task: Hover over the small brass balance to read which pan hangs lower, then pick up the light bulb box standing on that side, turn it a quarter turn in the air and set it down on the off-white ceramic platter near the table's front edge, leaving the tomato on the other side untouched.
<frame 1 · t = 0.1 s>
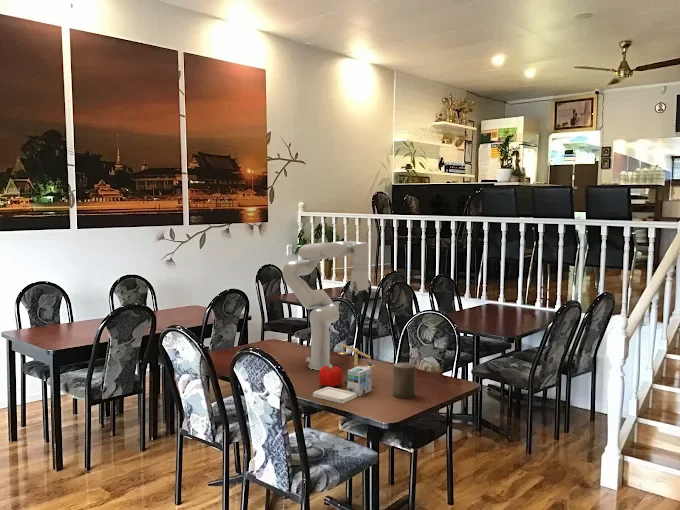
hand: (359, 302, 291), 37 cm above the table, tool pointing down, fingers open, 9 cm apart
tomato: (330, 386, 276), on the table
pillar candle: (403, 395, 264), on the table
balance: (355, 383, 281), on the table
platter: (334, 396, 260), on the table
light bulb box: (359, 392, 267), on the table
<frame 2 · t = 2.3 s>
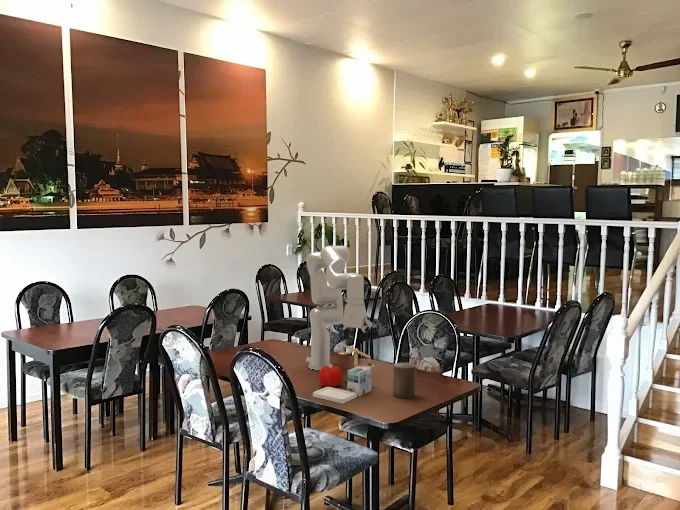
hand: (355, 340, 266), 24 cm above the table, tool pointing down, fingers open, 9 cm apart
nothing on the table moved.
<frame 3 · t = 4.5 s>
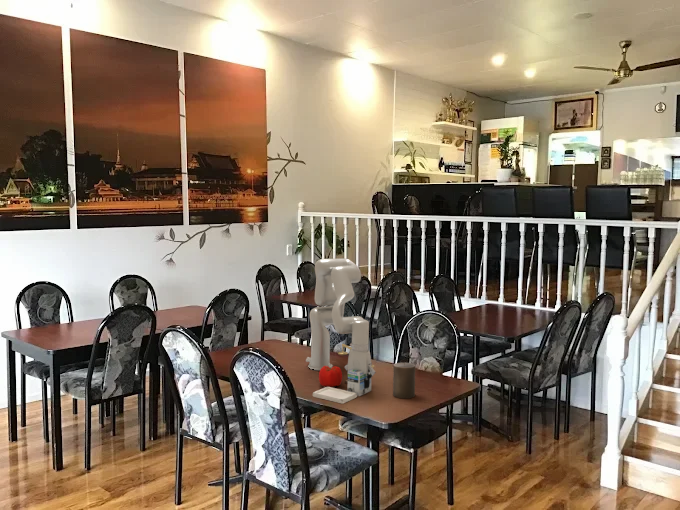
hand: (359, 386, 267), 3 cm above the table, tool pointing down, fingers closed on light bulb box, 6 cm apart
light bulb box: (359, 392, 267), on the table, touching gripper
everything else where it was.
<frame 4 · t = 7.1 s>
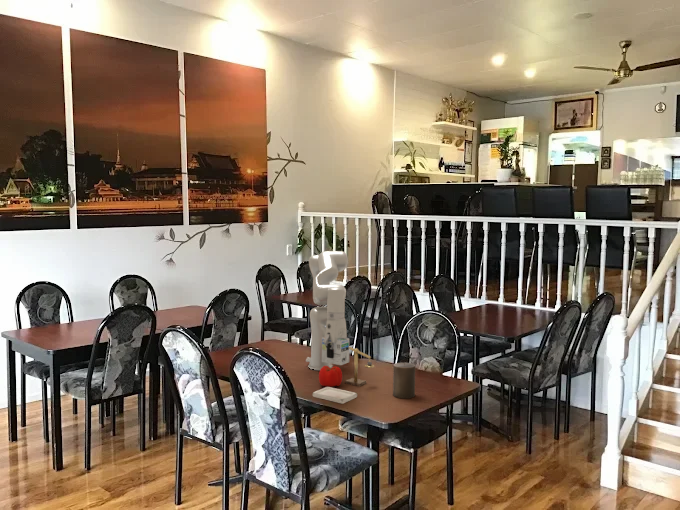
hand: (335, 355, 259), 18 cm above the table, tool pointing down, fingers closed on light bulb box, 6 cm apart
light bulb box: (335, 362, 259), point 15 cm above the table, touching gripper
everything else where it was.
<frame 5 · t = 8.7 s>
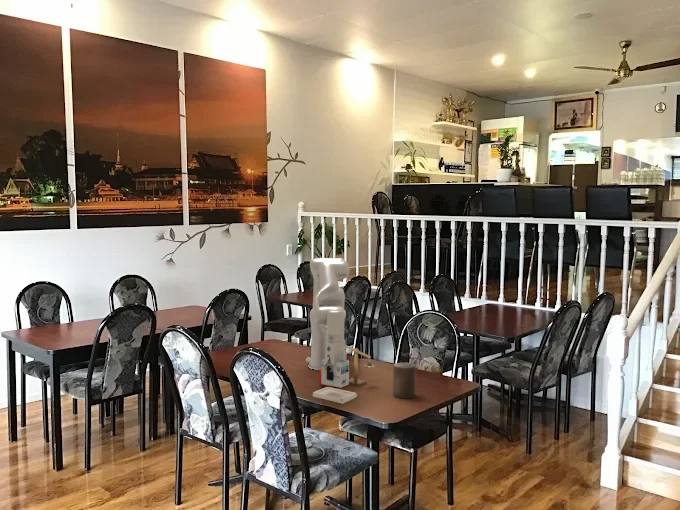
hand: (335, 377, 260), 8 cm above the table, tool pointing down, fingers closed on light bulb box, 6 cm apart
light bulb box: (335, 384, 260), point 5 cm above the table, touching gripper
everything else where it was.
when the fingers open (6 cm above the table, at t = 9.8 s): light bulb box drops 2 cm, resting on platter.
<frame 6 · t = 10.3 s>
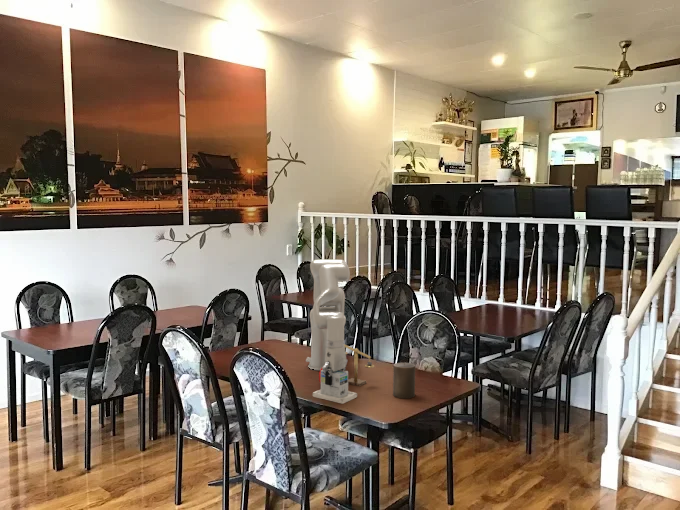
hand: (335, 382, 260), 7 cm above the table, tool pointing down, fingers open, 9 cm apart
light bulb box: (334, 395, 260), point 1 cm above the table, touching platter
everything else where it was.
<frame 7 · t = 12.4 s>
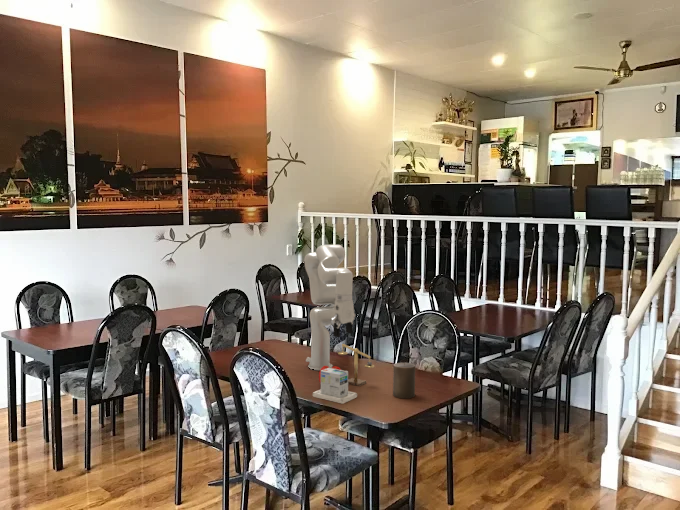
hand: (342, 334, 271), 25 cm above the table, tool pointing down, fingers open, 9 cm apart
nothing on the table moved.
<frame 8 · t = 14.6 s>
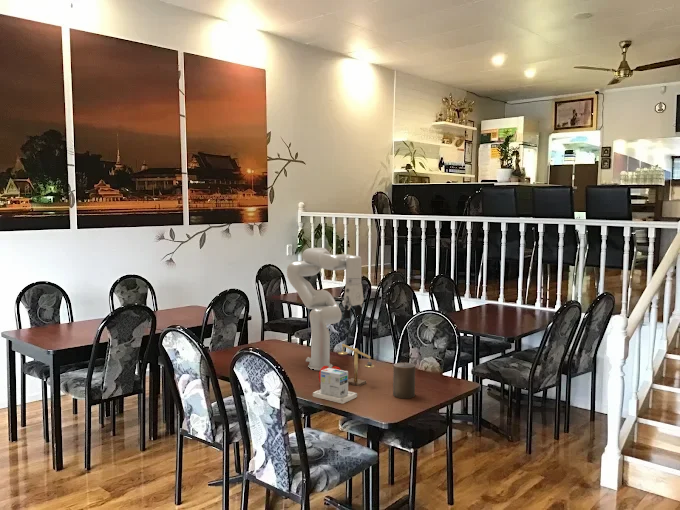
hand: (353, 316, 287), 30 cm above the table, tool pointing down, fingers open, 9 cm apart
nothing on the table moved.
at the end: light bulb box inside the target area on the platter (0.4 cm from its centre), point 0.8 cm above the platter's base; light bulb box tilted 0°; the gripper is holding nothing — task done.
